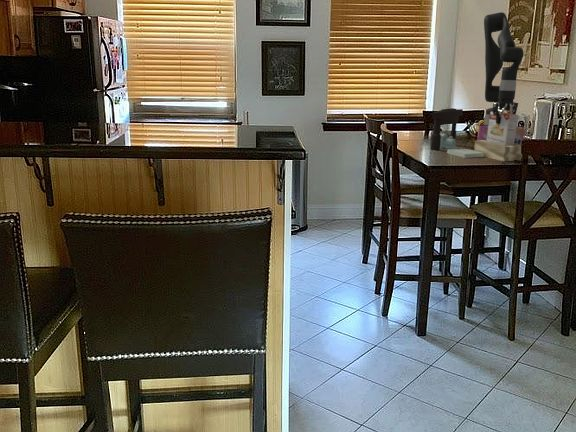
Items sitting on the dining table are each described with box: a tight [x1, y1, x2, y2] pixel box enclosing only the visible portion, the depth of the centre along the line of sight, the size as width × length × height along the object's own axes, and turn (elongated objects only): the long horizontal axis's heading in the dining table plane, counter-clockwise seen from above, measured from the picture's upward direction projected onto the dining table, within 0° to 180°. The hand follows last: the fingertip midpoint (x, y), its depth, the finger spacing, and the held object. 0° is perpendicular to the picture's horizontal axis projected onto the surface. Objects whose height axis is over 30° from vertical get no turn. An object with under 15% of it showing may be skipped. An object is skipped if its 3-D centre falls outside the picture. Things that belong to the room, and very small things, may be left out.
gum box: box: [476, 124, 527, 144], centre depth 305 cm, size 24×8×14 cm, turn 74°
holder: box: [474, 139, 522, 162], centre depth 289 cm, size 14×22×7 cm, turn 21°
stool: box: [430, 108, 464, 151], centre depth 313 cm, size 16×21×33 cm
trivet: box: [447, 148, 484, 159], centre depth 293 cm, size 12×14×2 cm
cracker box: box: [486, 111, 519, 146], centre depth 287 cm, size 14×6×21 cm, turn 21°
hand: (503, 123), depth 285 cm, fingers closed on cracker box, 6 cm apart
